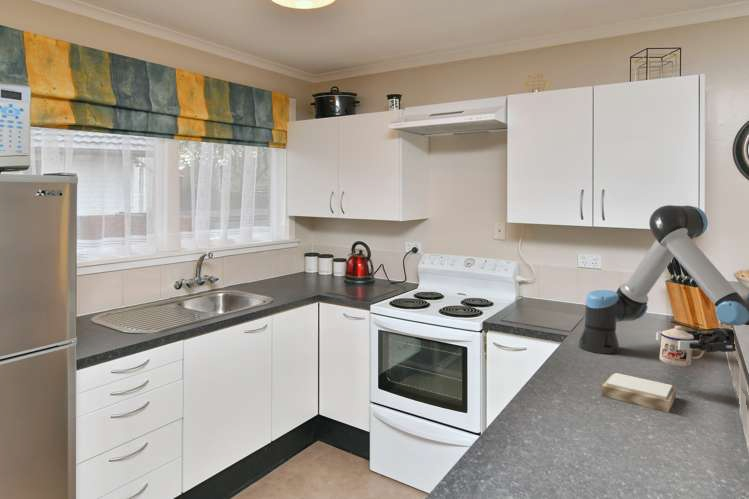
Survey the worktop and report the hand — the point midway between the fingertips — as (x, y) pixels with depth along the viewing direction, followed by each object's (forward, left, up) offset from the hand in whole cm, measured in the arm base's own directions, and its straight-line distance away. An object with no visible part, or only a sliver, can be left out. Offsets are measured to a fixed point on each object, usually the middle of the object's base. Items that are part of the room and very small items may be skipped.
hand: (667, 340), depth 157 cm
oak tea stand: (-5, -13, -16) cm, 21 cm away
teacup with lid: (+4, +2, -7) cm, 8 cm away
